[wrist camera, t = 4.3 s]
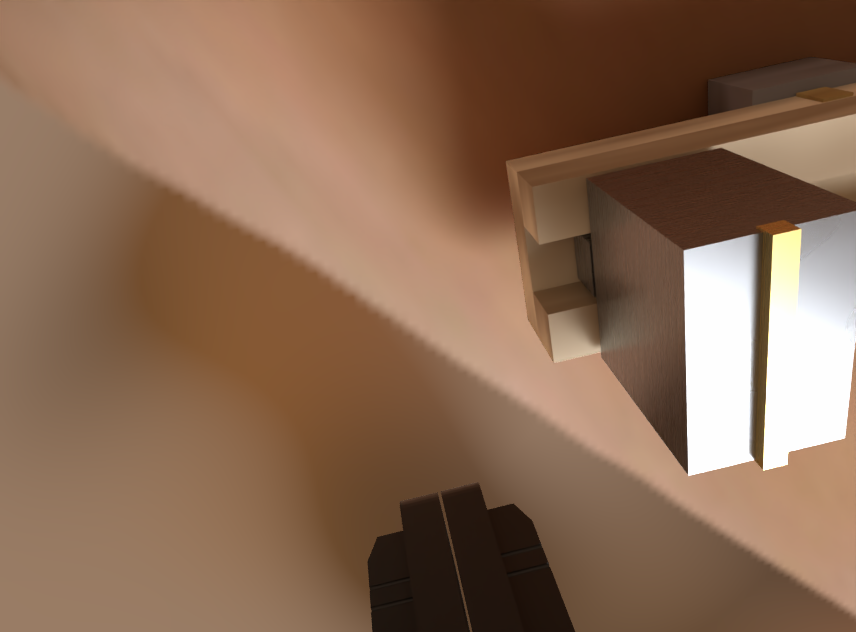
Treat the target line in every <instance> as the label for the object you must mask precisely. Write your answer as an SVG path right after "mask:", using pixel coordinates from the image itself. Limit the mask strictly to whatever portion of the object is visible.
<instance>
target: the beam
mask: <svg viewBox="0 0 856 632" xmlns="http://www.w3.org/2000/svg"><path fill="white" fill-rule="evenodd" d="M717 148H723V149H726V150H728V151H731V152H733V153H736V154H738V155H741V156H743V157H746V158H748V159H751V160H753V161H756V162H758V163H760V164H763V165H765V166H768V167H770V168H773V169H775V170H778V171H780V172H783V173H785V174H788V175H790V176H793V177H795V178H798V179H800V180H802V181H805V182H807V183H810V184H812V185H815V186H817V187H820V188H822V189H825V190H827V191H830V192H832V193H835V194H837V195H840V196H842V197H844V198H847V199H849V200H852V201H854V202H856V63H851V62H844V61H837V60H830V59H822V58H815V57H808V58H804V59H799V60H795V61H790V62H786V63H781V64H777V65H772V66H768V67H763V68H759V69H754V70H750V71H745V72H741V73H736V74H732V75H727V76H723V77H718V78H714V79H709V80H708V116H705V117H700V118H696V119H691V120H687V121H682V122H678V123H674V124H669V125H665V126H660V127H656V128H651V129H647V130H642V131H638V132H633V133H629V134H624V135H620V136H615V137H611V138H607V139H602V140H598V141H593V142H589V143H584V144H580V145H575V146H571V147H566V148H562V149H557V150H553V151H549V152H544V153H540V154H535V155H531V156H526V157H522V158H517V159H513V160H508V161H506V167H507V174H508V181H509V188H510V195H511V202H512V209H513V217H514V224H515V231H516V238H517V245H518V252H519V259H520V267H521V274H522V281H523V288H524V295H525V302H526V309H527V317H528V320H529V322H530V324H531V325H532V327H533V329H534V330H535V332H536V334H537V336H538V337H539V339H540V341H541V342H542V344H543V346H544V347H545V349H546V351H547V352H548V354H549V356H550V357H551V359H552V361H553V362H554V363H557V362H561V361H565V360H569V359H574V358H578V357H582V356H587V355H591V354H595V353H599V352H601V345H600V334H599V322H598V311H597V299H596V297H594V296H593V295H592V294H591V293H590V291H589V290H588V289H587V288H586V287H585V286H584V284H583V283H582V282H581V281H580V280H579V279H578V275H577V265H576V255H575V245H574V237H575V236H579V235H584V234H588V233H591V230H590V219H589V207H588V196H587V184H586V178H589V177H593V176H598V175H602V174H606V173H611V172H615V171H620V170H624V169H629V168H633V167H637V166H642V165H646V164H651V163H655V162H660V161H664V160H668V159H673V158H677V157H682V156H686V155H691V154H695V153H699V152H704V151H708V150H713V149H717Z"/></svg>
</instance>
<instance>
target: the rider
mask: <svg viewBox="0 0 856 632" xmlns="http://www.w3.org/2000/svg"><path fill="white" fill-rule="evenodd" d="M586 184H587V196H588V207H589V219H590V230H591V233H588V234H584V235H579V236H575V237H574V245H575V255H576V265H577V275H578V279H579V280H580V281H581V282H582V283H583V284H584V286H585V287H586V288H587V289H588V290H589V291H590V293H591V294H592V295H593V296H594V297H596V299H597V311H598V322H599V334H600V345H601V356H602V358H603V360H604V361H605V363H606V364H607V365H608V367H609V368H610V369H611V371H612V372H613V373H614V375H615V376H616V378H617V379H618V380H619V382H620V383H621V384H622V386H623V387H624V388H625V390H626V391H627V392H628V394H629V395H630V397H631V398H632V399H633V401H634V402H635V403H636V405H637V406H638V407H639V409H640V410H641V412H642V413H643V414H644V416H645V417H646V418H647V420H648V421H649V422H650V424H651V425H652V426H653V428H654V429H655V431H656V432H657V433H658V435H659V436H660V437H661V439H662V440H663V441H664V443H665V444H666V446H667V447H668V448H669V450H670V451H671V452H672V454H673V455H674V456H675V458H676V459H677V461H678V462H679V463H680V465H681V466H682V467H683V469H684V470H685V471H686V473H687V474H688V475H693V474H697V473H702V472H706V471H710V470H714V469H718V468H722V467H726V466H731V465H735V464H739V463H743V462H747V461H751V460H755V461H756V463H757V464H758V465H759V466H760V467H761V468H762V469H763V470H766V469H770V468H774V467H778V466H783V465H787V458H788V452H789V451H793V450H797V449H801V448H805V447H810V446H814V445H818V444H822V443H826V442H830V441H835V440H839V439H843V438H845V432H846V422H847V413H848V404H849V394H850V385H851V376H852V367H853V357H854V348H855V339H856V202H854V201H852V200H849V199H847V198H844V197H842V196H840V195H837V194H835V193H832V192H830V191H827V190H825V189H822V188H820V187H817V186H815V185H812V184H810V183H807V182H805V181H802V180H800V179H798V178H795V177H793V176H790V175H788V174H785V173H783V172H780V171H778V170H775V169H773V168H770V167H768V166H765V165H763V164H760V163H758V162H756V161H753V160H751V159H748V158H746V157H743V156H741V155H738V154H736V153H733V152H731V151H728V150H726V149H723V148H717V149H713V150H708V151H704V152H699V153H695V154H691V155H686V156H682V157H677V158H673V159H668V160H664V161H660V162H655V163H651V164H646V165H642V166H637V167H633V168H629V169H624V170H620V171H615V172H611V173H606V174H602V175H598V176H593V177H589V178H586Z"/></svg>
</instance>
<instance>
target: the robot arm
mask: <svg viewBox="0 0 856 632" xmlns="http://www.w3.org/2000/svg"><path fill="white" fill-rule="evenodd" d="M441 494H442V499H443V503H444V508H445V512H446V517H447V521H448V525H449V530H450V534H451V539H452V543H453V548H454V552H455V556H456V561H457V565H458V570H459V574H460V578H461V583H462V587H463V592H464V596H465V601H466V605H467V610H468V614H469V618H470V623H471V627H472V631H473V632H575V630H574V628H573V625H572V622H571V620H570V617H569V615H568V612H567V610H566V607H565V604H564V602H563V599H562V597H561V594H560V592H559V589H558V587H557V584H556V581H555V579H554V576H553V573H552V571H551V569H550V567H549V563H548V561H547V558H546V555H545V553H544V550H543V548H542V546H541V542H540V540H539V537H538V535H537V532H536V529H535V527H534V524H533V522H532V520H531V519H530V518H529V517H527V516H526V515H525V514H524V513H523V512H522V511H521V510H520V509H519V508H518V507H517V506H515V505H514V504H510V505H506V506H502V507H497V508H493V509H489V510H487V508H486V505H485V502H484V498H483V495H482V492H481V489H480V485H479V483H478V482H477V483H473V484H469V485H465V486H461V487H457V488H453V489H449V490H445V491H441ZM400 509H401V517H402V524H403V531H400V532H396V533H392V534H388V535H384V536H380V537H377V539H376V542H375V545H374V547H373V549H372V552H371V554H370V557H369V559H368V573H369V587H370V602H371V610H372V612H371V617H372V630H373V632H470V630H469V625H468V621H467V616H466V612H465V608H464V603H463V598H462V594H461V589H460V585H459V580H458V576H457V572H456V567H455V564H454V559H453V555H452V550H451V546H450V542H449V538H448V534H447V530H446V525H445V521H444V517H443V513H442V509H441V505H440V501H439V497H438V493H433V494H429V495H425V496H421V497H416V498H413V499H408V500H404V501H401V502H400Z"/></svg>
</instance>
